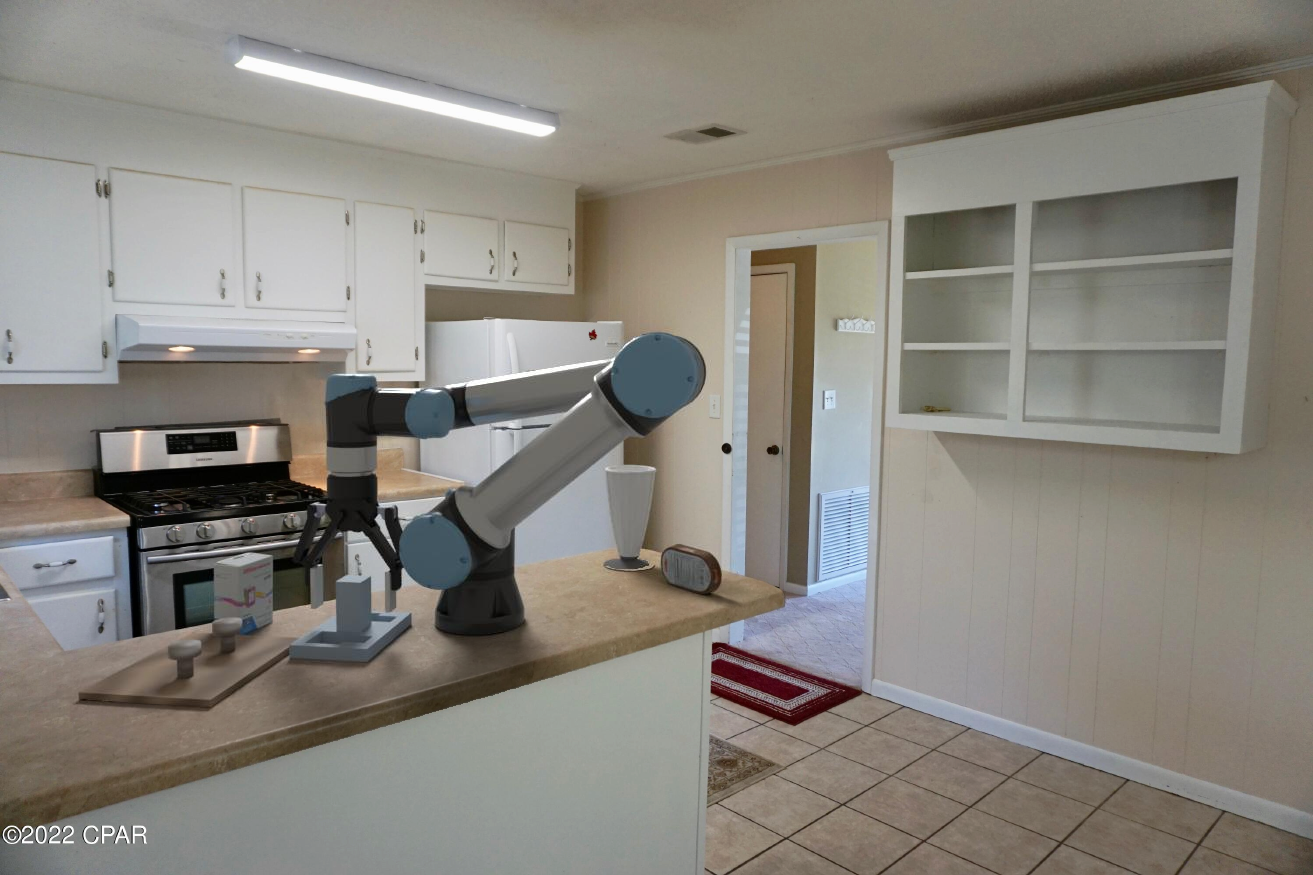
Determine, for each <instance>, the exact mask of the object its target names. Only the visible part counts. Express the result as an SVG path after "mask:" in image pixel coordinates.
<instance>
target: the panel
mask: <svg viewBox="0 0 1313 875" xmlns="http://www.w3.org/2000/svg"><path fill="white" fill-rule="evenodd" d="M412 621H413V620H412V612H410V611H391V612H390V613H388V612H385V610H372V575H359V574H357V575H356V574H354V575H353V574H345V575H344V576H342V577H341V578H339V579H338V580H335V614H334V615H332V616H330V617H329V618H328V619H326V620H325V621H323V622H322V623H320V624H319V625H317V626H316V627H314V628H313V629H311V630H310V631H309V632H307V633H305V634H303V635H302V636H300V637H298V638H299V639H298V640H296V641H295V642H293V643H292V644H290V645H289V654H288V655H289V656H288V657H289V658H290V659H300V660H301V659H302V660H319V661H321V660H322V661H323V660H324V661H340V662H341V661H342V662H355V663H356V662H360V663H368V662H369V661H370V660H371V659H372V658H374V657H375V656H376V655H377V654H378V653H379V652H381V651H382V650H383V649H384V648H385V647H387V646H388V644H390V643H391V642H392V641H393V640H395V639H396V638H397V637H399V635H401V634H402V633H403V632H404V631H405V630H406V629H407V628H408V627H409V626H411V625H412V623H413V622H412Z"/></svg>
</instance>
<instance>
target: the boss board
mask: <svg viewBox="0 0 1313 875" xmlns="http://www.w3.org/2000/svg"><path fill="white" fill-rule="evenodd" d="M241 631H242V619H241V618H236V617H229V618H222V619H218V620H215V621H212V623H211V632H195V631H194V632H191V633H190V634H188V635H186V636H183V637H181V638H180V639H178V640H176V641H174V642H172V643H171V642H170V643H169V644H168V645H167V646H164V647H162V648H161V649H159V650H157V651H155V652H152V653H151V654H149V655H147V656H145V657H143V658H142V659H140V660H138V661H136V662H134V663H132V664H130V665H128V666H126V667H125V668H122V669H121V670H118V671H117V672H115V673H113V674H111V675H109V676H107V677H105V678H103V679H102V680H100V681H97V682H96V683H94V684H92V685H89V686H87V687H86V688H85V689H82V690H80V691H79V692H78V700H79V699H87V700H86V701H91V700H104V701H103V702H109V701H113V702H112V703H114V701H116V702H115V703H127V704H129V703H131V704H146V705H147V704H149V705H162V706H163V705H164V706H165V705H166V706H181V707H199V708H200V707H201V708H212V707H214V706H215V705H216V704H218V703H219V702H221V701H222V700H224V699H225V698H226V697H228V696H229V695H231V694H232V693H234V692H236V691H237V690H238V689H240V688H241V687H242V686H244V685H245V684H247V683H249V682H250V681H251V680H253V679H254V678H256V677H257V676H259V675H261V673H263V672H264V671H267V669H269V668H270V667H272V666H273V665H275V664H276V663H278V662H279V661H280V660H282V659H283V658H285V657H286V656H288V655H289V645H290V644H292V643H293V642H295V641H296V640H298V639H299V638H300V637H293V636H275V635H274V636H269V635H254V634H253V635H252V634H251V635H250V634H245V635H235V634H237V633H239V632H241ZM106 700H107V701H106Z"/></svg>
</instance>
